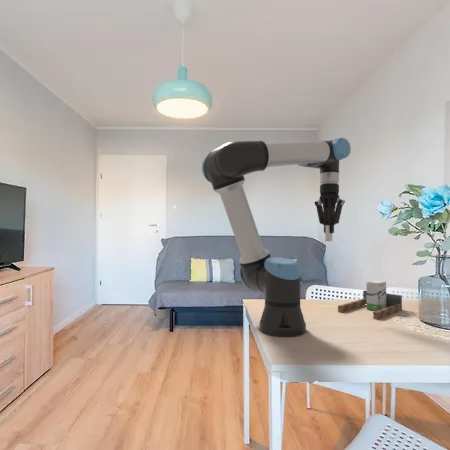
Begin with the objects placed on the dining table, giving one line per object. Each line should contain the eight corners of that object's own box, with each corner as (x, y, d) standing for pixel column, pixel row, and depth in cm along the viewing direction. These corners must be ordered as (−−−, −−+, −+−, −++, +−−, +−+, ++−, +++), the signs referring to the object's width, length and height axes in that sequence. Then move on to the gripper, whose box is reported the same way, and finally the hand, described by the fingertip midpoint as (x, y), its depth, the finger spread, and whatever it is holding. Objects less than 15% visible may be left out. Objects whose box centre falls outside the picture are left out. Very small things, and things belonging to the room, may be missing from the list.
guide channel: (377, 319, 125) (376, 303, 125) (338, 311, 137) (337, 297, 137) (401, 309, 141) (401, 295, 141) (365, 303, 153) (364, 290, 153)
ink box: (377, 311, 138) (377, 282, 138) (365, 309, 141) (365, 281, 142) (387, 308, 143) (386, 280, 143) (375, 306, 147) (375, 279, 147)
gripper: (348, 183, 136) (348, 241, 135) (321, 186, 146) (320, 240, 145) (338, 181, 131) (338, 241, 131) (310, 184, 141) (309, 240, 141)
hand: (328, 241), depth 138 cm, fingers closed
